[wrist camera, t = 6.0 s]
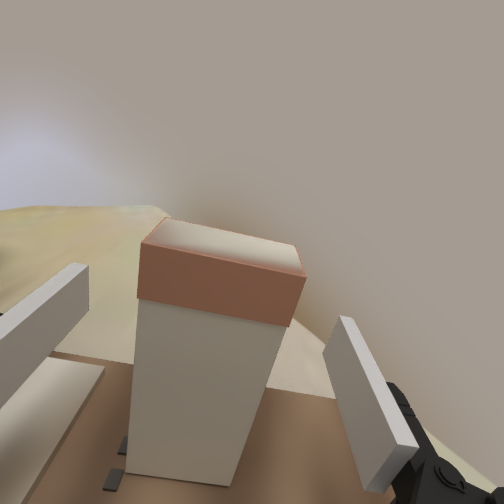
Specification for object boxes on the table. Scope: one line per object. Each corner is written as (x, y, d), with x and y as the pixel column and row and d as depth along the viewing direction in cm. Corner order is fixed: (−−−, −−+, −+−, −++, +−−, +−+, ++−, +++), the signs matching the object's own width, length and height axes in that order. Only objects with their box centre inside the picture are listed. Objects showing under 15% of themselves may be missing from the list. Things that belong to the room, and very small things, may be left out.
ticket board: (-504, 574, 9) (-601, 528, 8) (-124, 349, 18) (-140, 311, 17) (428, 653, 12) (467, 629, 11) (353, 426, 21) (369, 398, 20)
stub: (123, 473, 13) (140, 242, 8) (142, 421, 15) (165, 217, 10) (230, 487, 13) (306, 277, 9) (233, 435, 16) (295, 245, 11)
